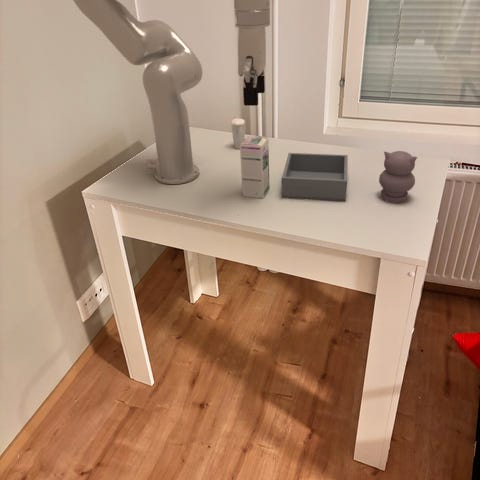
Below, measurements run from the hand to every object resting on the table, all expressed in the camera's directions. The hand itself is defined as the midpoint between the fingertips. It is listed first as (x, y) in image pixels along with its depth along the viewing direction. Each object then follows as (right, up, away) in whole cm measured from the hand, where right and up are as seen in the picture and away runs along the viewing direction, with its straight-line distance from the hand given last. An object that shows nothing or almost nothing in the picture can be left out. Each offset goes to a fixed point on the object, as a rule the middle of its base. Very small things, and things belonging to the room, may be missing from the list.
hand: (254, 98), depth 109 cm
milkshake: (-3, -4, +40) cm, 40 cm away
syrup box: (+1, -21, +14) cm, 25 cm away
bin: (+17, -18, +16) cm, 29 cm away
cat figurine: (+35, -22, +9) cm, 43 cm away
